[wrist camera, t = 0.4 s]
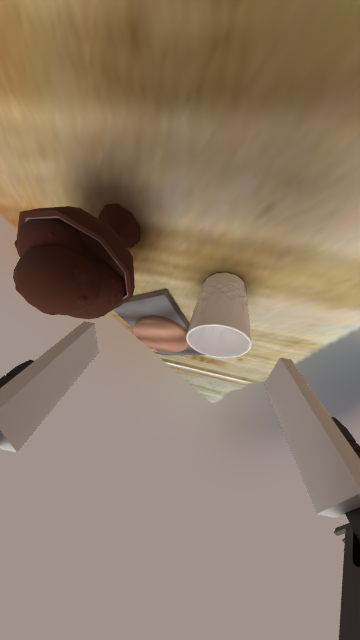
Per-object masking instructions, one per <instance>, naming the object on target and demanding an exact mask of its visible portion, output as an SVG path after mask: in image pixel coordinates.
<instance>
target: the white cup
mask: <svg viewBox="0 0 360 640" xmlns="http://www.w3.org/2000/svg"><path fill="white" fill-rule="evenodd" d="M186 340H187V342H188V344H189V345H190V346H191V347H192V348H193V349H194V350H196V351H198V352H200V353H202V354H205V355H208V356H212V357H218V358H233V357H238V356H241V355H243V354H245V353H247V352H248V351H249V350H250V349H251V346H252V343H251V332H250V320H249V310H248V301H247V297H246V288H245V285H244V282H243V281H242V280H241V279H240V278H239V277H238V276H237V275H234V274H230V273H227V272H225V273H216V274H214V275H212V276H210V277H208V278H207V279H206V280H205V281H204V283H203V284H202V287H201V291H200V294H199V296H198V299H197V302H196V305H195V308H194V311H193V315H192V318H191V322H190V325H189V329H188V332H187V336H186Z"/></svg>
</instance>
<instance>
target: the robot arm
mask: <svg viewBox="0 0 360 640" xmlns="http://www.w3.org/2000/svg"><path fill="white" fill-rule="evenodd" d="M98 353H99V352H98V345H97V337H96V330H95V324H94V323H90V322H83V323H82V324H81V325H79V326H78V327H77V328H75V329H74V330H73V331H72V332H70V333H69V334H68V335H67V336H65V337H64V338H63V339H62V340H60V341H59V342H58V343H57V344H55V345H54V346H53V347H52V348H51V349H49V350H48V351H47V352H45V353H44V354H43V355H42V356H40V357H39V358H38V359H37V360H35V361H33V360H29V361H26V362H25V363H22V364H20V365H19V366H17V367H15V368H14V369H13V370H11V371H10V372H9V373H7V375H6V376H3V377H2V378H1V379H0V449H3V450H7V451H12V452H18V451H19V450H20V448H21V447H22V446H23V445H24V443H25V442H26V441H27V440H28V439H29V437H30V436H31V435H32V434H33V432H34V431H35V430H36V429H37V427H38V426H39V425H40V424H41V423H42V421H43V420H44V419H45V418H46V416H47V415H48V414H49V413H50V412H51V410H52V409H53V408H54V407H55V406H56V404H57V403H58V402H59V401H60V399H61V398H62V397H63V396H64V395H65V393H66V392H67V391H68V390H69V388H70V387H71V386H72V385H73V384H74V382H75V381H76V380H77V379H78V377H79V376H80V375H81V374H82V373H83V371H84V370H85V369H86V368H87V366H88V365H89V364H90V363H91V362H92V360H93V359H94V358H95V357H96V356H97V354H98ZM264 385H265V388H266V390H267V393H268V395H269V397H270V400H271V402H272V405H273V407H274V410H275V412H276V415H277V417H278V420H279V422H280V424H281V427H282V429H283V432H284V434H285V437H286V439H287V442H288V444H289V446H290V449H291V451H292V454H293V456H294V459H295V461H296V464H297V466H298V468H299V471H300V473H301V476H302V478H303V481H304V483H305V486H306V488H307V490H308V493H309V495H310V498H311V500H312V503H313V505H314V508H315V510H316V512H317V514H319V515H325V516H329V517H334V518H336V517H338V516H341V515H343V514H346V516H347V518H348V520H349V522H350V523H348V524H345V525H343V526H340V527H337V528H336V529H335V531H334V533H335V534H336V535H337V536H338V535H341V534H344V533H345V538H344V539H343V540H342V541H343V542H344V543H345V548H344V564H343V582H342V599H341V614H340V632H339V640H360V446H359V445H358V444H357V443H356V441H355V439H354V438H353V437H352V435H351V434H350V433H349V431H348V430H347V428H345V427H344V426H343V425H342V424H341V423H340V422H339V421H338V420H337V419H336V418H334V417H330V415H329V414H328V413H327V411H326V409H325V408H324V407H323V405H322V404H321V403H320V401H319V399H318V398H317V396H316V395H315V394H314V392H313V391H312V389H311V388H310V386H309V385H308V384H307V382H306V381H305V379H304V378H303V376H302V375H301V373H300V372H299V370H298V369H297V368H296V366H295V365H294V363H293V362H292V360H291V359H285V358H279V360H278V362H277V363H276V365H275V367H274V368H273V370H272V372H271V373H270V375H269V377H268V378H267V380H266V382H265V383H264Z"/></svg>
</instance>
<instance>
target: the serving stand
mask: <svg viewBox="0 0 360 640" xmlns="http://www.w3.org/2000/svg"><path fill="white" fill-rule="evenodd" d="M113 310H114V311H115V312H116V313H117V314H118V315H119V316H120V317H121V318H122V319H124V320H125V321H126V322H127V323H128V324H129V325H130V326H131V327H132V328H133V331H134V334H135V336H136V337H137V338H138V339H139V340H140V341H141V342H143V343H144V344H146V345H148V346H150V347H152V348H154V349H156V350H157V351H158V352H159V353H160V354H161V355H205V354H202V353H200V352H198V351H196V350H194V349H193V348H192V347H191V346H190V345H189V344H188V342H187V340H186V336H187V332H188V329H189V325H190V324H189V322H188V321H187V319H186V318H185V316H184V315H183V313H182V312H181V310H180V308H179V307H178V305H177V304H176V302H175V301H174V299H173V298H172V296H171V295H170V293H169V292H168V290H167V289H164V290H160V291H155V292H150V293H146V294H141V295H137V296H132V298H131V299H129V300H128V301H127V302H125V303H124V304H122V305H121V306H119V307H118V308H115V309H113Z"/></svg>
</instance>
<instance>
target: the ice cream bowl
mask: <svg viewBox="0 0 360 640" xmlns="http://www.w3.org/2000/svg"><path fill="white" fill-rule="evenodd" d="M139 240H140V227H139V225H138V223H137V222H136V220H135V218H134V217H133V215H132V213H131V212H129V211H128V210H126V209H125V208H123V207H122V206H120V205H119V204H110V205H105V206H104V208H103V210H102V212H101V214H100V216H99V219H97V218H95V217H94V216H92V215H90V214H89V213H87V212H86V211H84V210H82V209H81V208H76V207H70V206H67V207H53V208H39V209H33V210H28V211H23V212H20V215H19V224H18V234H17V240H16V241H15V246H16V248H17V251H18V254H19V256H20V257H21V258H20V259H19V261H18V263H17V265H16V267H15V269H14V276H13V279H14V282H15V284H16V290H17V291H18V292H19V293H20V294H21V295H22V296H23V297H24V298H25V300H26V301H27V302H28V303H29V304H31V305H32V306H34V307H36V308H37V309H39V310H40V311H41V312H43V313H46V314H50V315H57V314H60V315H69V316H72V317H76V318H83V319H93V318H99V317H101V316H104V315H105V314H107V313H108V312H110V311H112V310H113V309H115V308H118V307H119V306H121V305H122V304H124V303H125V302H127V301H128V300H129V299H131V298H132V295H133V292H134V288H135V286H134V267H133V256H132V255H131V253H130V252H129V250H128V249H127V248H131V247H133V246H134V245H135V244H136V243H137V242H138V241H139Z"/></svg>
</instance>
